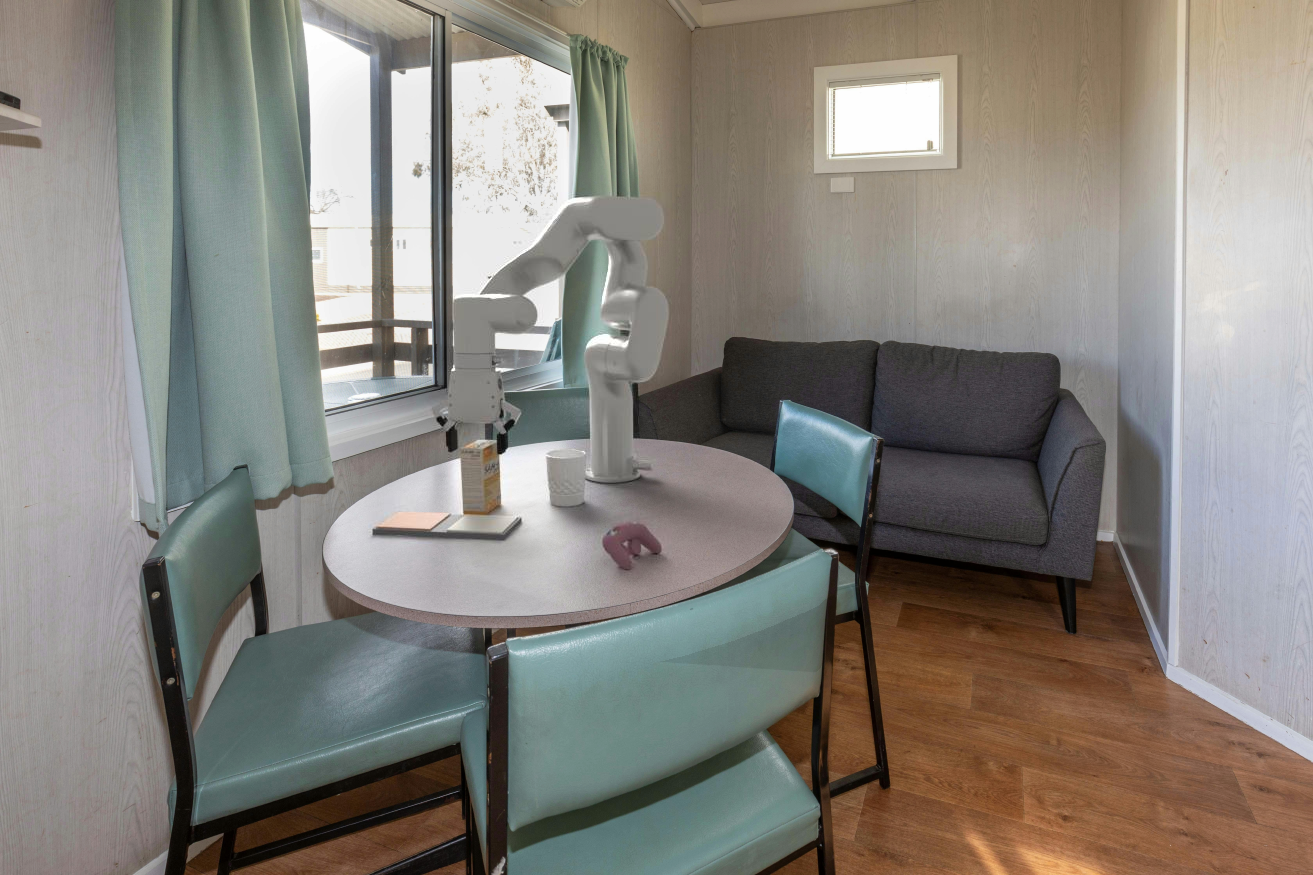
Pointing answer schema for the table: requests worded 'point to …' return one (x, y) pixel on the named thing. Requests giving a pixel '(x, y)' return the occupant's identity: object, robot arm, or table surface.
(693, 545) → the table surface
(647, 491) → the table surface
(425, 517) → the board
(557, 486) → the white cup
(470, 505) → the supplement box
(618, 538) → the video game controller
